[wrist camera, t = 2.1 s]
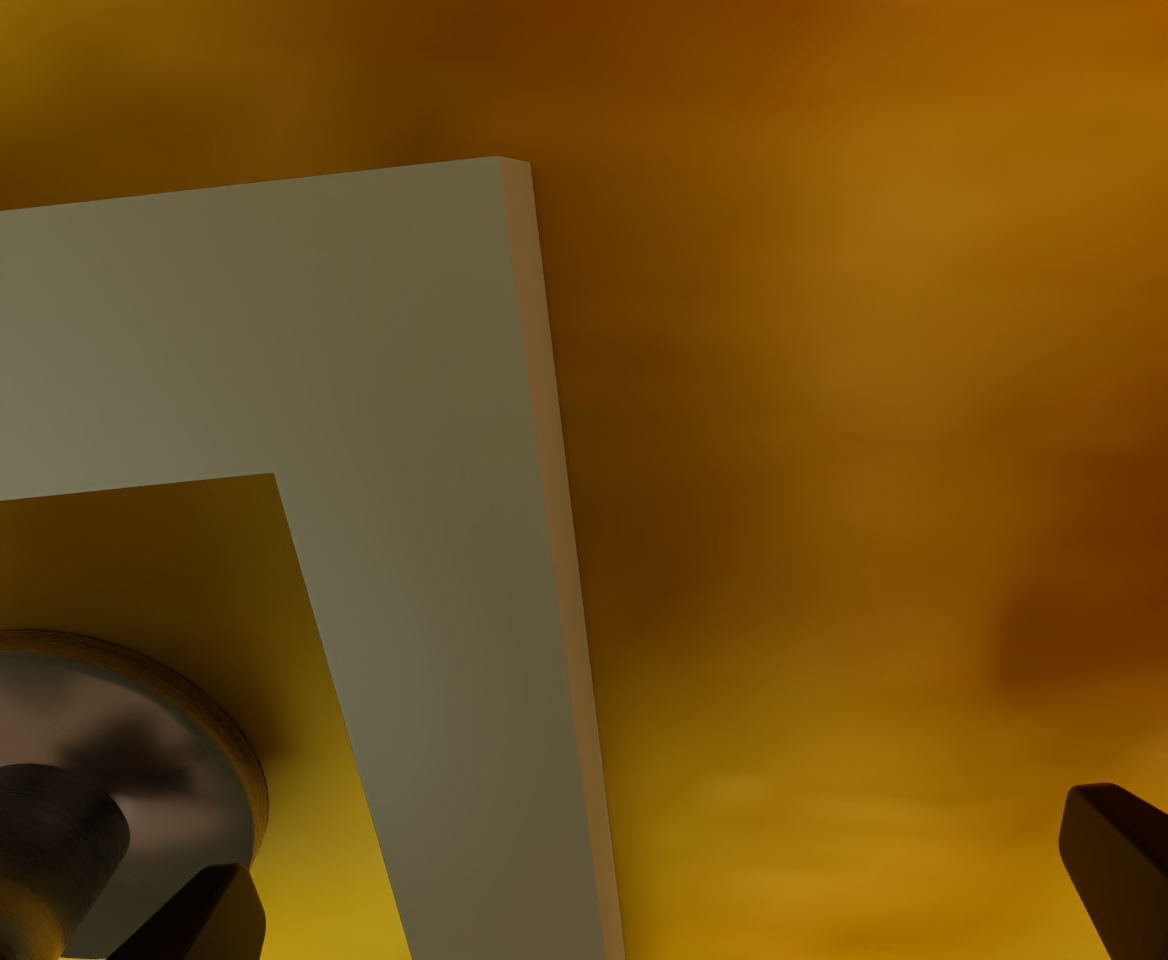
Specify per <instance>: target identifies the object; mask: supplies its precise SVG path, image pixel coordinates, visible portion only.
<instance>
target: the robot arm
mask: <svg viewBox="0 0 1168 960" xmlns="http://www.w3.org/2000/svg"><path fill="white" fill-rule="evenodd" d="M1058 843H1059V851H1060V855H1061V858H1062V861H1063V864H1064V866H1065V868H1066V870H1067V872H1068V874H1069V876H1070V878H1071V880H1072V882H1073V884H1074V886H1075V888H1076V890H1077V892H1078V894H1079V896H1080V898H1081V900H1082V902H1083V904H1084V906H1085V908H1086V910H1087V912H1088V914H1089V916H1090V918H1091V920H1092V922H1093V924H1094V926H1095V928H1096V930H1097V932H1098V934H1099V936H1100V938H1101V940H1102V942H1103V944H1104V946H1105V948H1106V950H1107V952H1108V954H1109V956H1110V958H1111V960H1168V814H1166V813H1165V812H1163V811H1161V810H1159V809H1158V808H1156V807H1154V806H1153V805H1151V804H1149V803H1147V802H1146V801H1144V800H1142V799H1141V798H1139V797H1137V796H1136V795H1134V794H1132V793H1130V792H1129V791H1127V790H1125V789H1124V788H1122V787H1120V786H1118V785H1115V784H1112V783H1094V784H1083V785H1076V786H1073V787H1072V788H1071V789H1070V790H1069V791H1068V794H1067V798H1066V803H1065V808H1064V813H1063V818H1062V823H1061V828H1060V833H1059V842H1058ZM265 931H266V917H265V912H264V909H263V906H262V903H261V901H260V898H259V896H258V893H257V891H256V888H255V885H254V883H253V880H252V878H251V875H250V872H249V870H248V868H247V867H246V866H245V865H243V864H242V863H228V864H217V865H210V866H207V867H205V868H203V869H201V870H200V871H199V872H198V873H196V874H195V875H194V876H193V877H192V878H191V879H190V880H189V881H188V882H187V883H186V884H185V885H184V886H183V887H182V888H181V889H180V890H178V891H177V892H176V893H175V894H174V895H173V896H172V897H171V898H170V899H169V900H168V901H167V902H166V903H165V904H164V905H163V906H162V907H161V908H160V909H158V910H157V911H156V912H155V913H154V914H153V915H152V916H151V917H150V918H149V919H148V920H147V921H146V922H145V923H144V924H143V925H142V926H141V927H140V928H138V929H137V930H136V931H135V932H134V933H133V934H132V935H131V936H130V937H129V938H128V939H127V940H126V941H125V942H124V943H123V944H122V945H121V946H120V947H118V948H117V949H116V950H115V951H114V952H113V953H112V954H111V955H110V956H109V957H108V958H107V959H106V960H259V959H260V955H261V951H262V946H263V942H264V937H265Z"/></svg>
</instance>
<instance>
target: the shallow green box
mask: <svg viewBox="0 0 1168 960" xmlns="http://www.w3.org/2000/svg"><path fill="white" fill-rule="evenodd" d="M264 473H274V476H275V480H276V483H277V487H278V490H279V494H280V497H281V501H282V504H283V508H284V511H285V515H286V518H287V522H288V525H289V529H290V532H291V536H292V539H293V543H294V547H295V550H296V554H297V557H298V561H299V564H300V568H301V571H302V575H303V578H304V582H305V585H306V589H307V592H308V596H309V599H310V603H311V606H312V610H313V613H314V617H315V620H316V624H317V627H318V631H319V634H320V638H321V641H322V645H323V648H324V652H325V655H326V659H327V662H328V666H329V669H330V673H331V676H332V680H333V683H334V687H335V690H336V694H337V697H338V701H339V704H340V708H341V711H342V715H343V718H344V722H345V725H346V729H347V732H348V736H349V739H350V743H351V746H352V750H353V753H354V757H355V760H356V764H357V767H358V771H359V775H360V778H361V782H362V785H363V789H364V792H365V796H366V799H367V803H368V806H369V810H370V813H371V817H372V820H373V824H374V827H375V831H376V834H377V838H378V841H379V845H380V848H381V852H382V855H383V859H384V862H385V866H386V869H387V873H388V876H389V880H390V883H391V887H392V890H393V894H394V897H395V901H396V904H397V908H398V911H399V915H400V918H401V922H402V925H403V929H404V932H405V936H406V939H407V943H408V946H409V950H410V953H411V957H412V960H626V957H625V949H624V940H623V932H622V924H621V915H620V907H619V899H618V890H617V882H616V874H615V865H614V857H613V849H612V840H611V832H610V824H609V815H608V807H607V799H606V790H605V782H604V773H603V765H602V757H601V748H600V740H599V732H598V723H597V715H596V707H595V698H594V690H593V682H592V673H591V665H590V657H589V648H588V640H587V632H586V623H585V615H584V607H583V598H582V590H581V582H580V573H579V565H578V557H577V548H576V540H575V532H574V523H573V515H572V507H571V498H570V490H569V482H568V473H567V465H566V457H565V448H564V440H563V432H562V423H561V415H560V407H559V398H558V390H557V381H556V373H555V365H554V356H553V348H552V340H551V331H550V323H549V315H548V306H547V298H546V290H545V281H544V273H543V265H542V256H541V248H540V240H539V231H538V223H537V215H536V206H535V198H534V190H533V181H532V173H531V165H530V162H527V161H522V160H517V159H512V158H507V157H503V156H498V155H497V156H488V157H479V158H470V159H461V160H452V161H443V162H434V163H425V164H416V165H407V166H398V167H390V168H381V169H372V170H363V171H354V172H345V173H336V174H327V175H318V176H309V177H300V178H291V179H282V180H273V181H264V182H255V183H246V184H237V185H228V186H219V187H211V188H202V189H193V190H184V191H175V192H166V193H157V194H148V195H139V196H130V197H121V198H112V199H103V200H94V201H85V202H76V203H67V204H58V205H49V206H40V207H32V208H23V209H14V210H5V211H0V501H2V500H12V499H21V498H31V497H41V496H51V495H60V494H70V493H80V492H90V491H99V490H109V489H119V488H128V487H138V486H148V485H158V484H167V483H177V482H187V481H196V480H206V479H216V478H226V477H235V476H245V475H255V474H264Z"/></svg>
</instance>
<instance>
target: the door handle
mask: <svg viewBox="0 0 1168 960" xmlns="http://www.w3.org/2000/svg"><path fill="white" fill-rule="evenodd" d="M267 817H268V800H267V789H266V786H265V782H264V778H263V774H262V771H261V768H260V766H259V764H258V762H257V759H256V757H255V755H254V752H253V751H252V749H251V748H250V746H249V744H248V743H247V741H246V739H245V738H244V736H243V735H242V733H241V732H240V731H239V729H238V728H237V727H236V726H235V724H234V723H233V722H232V721H231V720H230V718H229V717H228V716H227V715H226V714H225V713H224V712H223V711H222V710H221V709H220V708H219V707H218V706H217V705H216V704H215V703H214V702H213V701H212V700H211V699H210V698H209V697H208V696H206V695H205V694H204V693H202V692H201V691H200V690H199V689H197V688H196V687H195V686H193V685H192V684H191V683H190V682H188V681H187V680H185V679H183V678H182V677H180V676H179V675H177V674H175V673H174V672H172V671H171V670H169V669H167V668H166V667H164V666H162V665H160V664H158V663H156V662H154V661H152V660H150V659H148V658H146V657H144V656H142V655H140V654H137V653H135V652H132V651H129V650H127V649H124V648H121V647H119V646H116V645H114V644H110V643H106V642H103V641H99V640H95V639H92V638H88V637H84V636H78V635H73V634H67V633H61V632H52V631H37V630H14V631H0V960H58V959H59V957H64V958H79V959H106V958H108V957H109V956H110V955H111V954H112V953H113V952H114V951H115V950H116V949H117V948H118V947H120V946H121V945H122V944H123V943H124V942H125V941H126V940H127V939H128V938H129V937H130V936H131V935H132V934H133V933H134V932H135V931H136V930H137V929H138V928H140V927H141V926H142V925H143V924H144V923H145V922H146V921H147V920H148V919H149V918H150V917H151V916H152V915H153V914H154V913H155V912H156V911H157V910H158V909H160V908H161V907H162V906H163V905H164V904H165V903H166V902H167V901H168V900H169V899H170V898H171V897H172V896H173V895H174V894H175V893H176V892H177V891H178V890H180V889H181V888H182V887H183V886H184V885H185V884H186V883H187V882H188V881H189V880H190V879H191V878H192V877H193V876H194V875H195V874H196V873H198V872H199V871H200V870H201V869H203V868H205V867H207V866H210V865H217V864H228V863H242V864H243V865H245V866H246V867H247V868H248V870H250V867H251V865H252V863H253V861H254V859H255V857H256V854H257V852H258V850H259V848H260V846H261V843H262V841H263V837H264V833H265V830H266V826H267Z"/></svg>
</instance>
